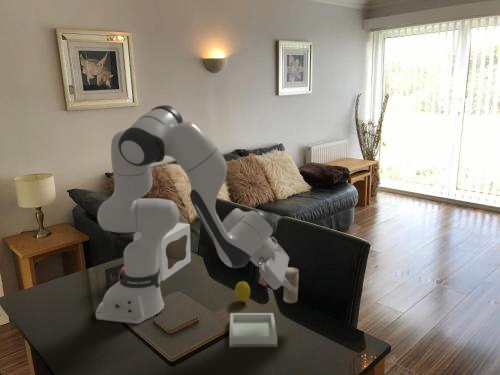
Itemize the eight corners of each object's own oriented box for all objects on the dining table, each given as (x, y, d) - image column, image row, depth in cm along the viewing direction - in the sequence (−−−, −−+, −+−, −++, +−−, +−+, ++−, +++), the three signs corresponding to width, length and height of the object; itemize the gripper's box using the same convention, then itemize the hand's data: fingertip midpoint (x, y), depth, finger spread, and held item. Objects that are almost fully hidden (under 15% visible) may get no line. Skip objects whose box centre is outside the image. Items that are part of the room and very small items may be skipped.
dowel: (284, 303, 127) (285, 273, 125) (282, 296, 131) (283, 267, 129) (298, 303, 127) (299, 273, 125) (296, 296, 131) (297, 267, 129)
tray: (229, 347, 119) (229, 338, 119) (230, 321, 133) (230, 313, 132) (277, 347, 120) (277, 337, 119) (273, 321, 133) (273, 313, 133)
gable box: (162, 281, 161) (159, 213, 155) (134, 276, 166) (131, 209, 159) (191, 261, 181) (190, 200, 175) (166, 256, 186) (163, 197, 180)
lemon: (248, 306, 143) (248, 285, 141) (233, 304, 144) (233, 283, 142) (251, 299, 148) (251, 278, 146) (236, 297, 149) (236, 277, 147)
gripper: (265, 259, 116) (297, 294, 117) (274, 235, 136) (302, 265, 137) (249, 272, 118) (281, 306, 119) (260, 246, 138) (288, 276, 138)
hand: (292, 284), depth 128 cm, fingers closed on dowel, 4 cm apart
